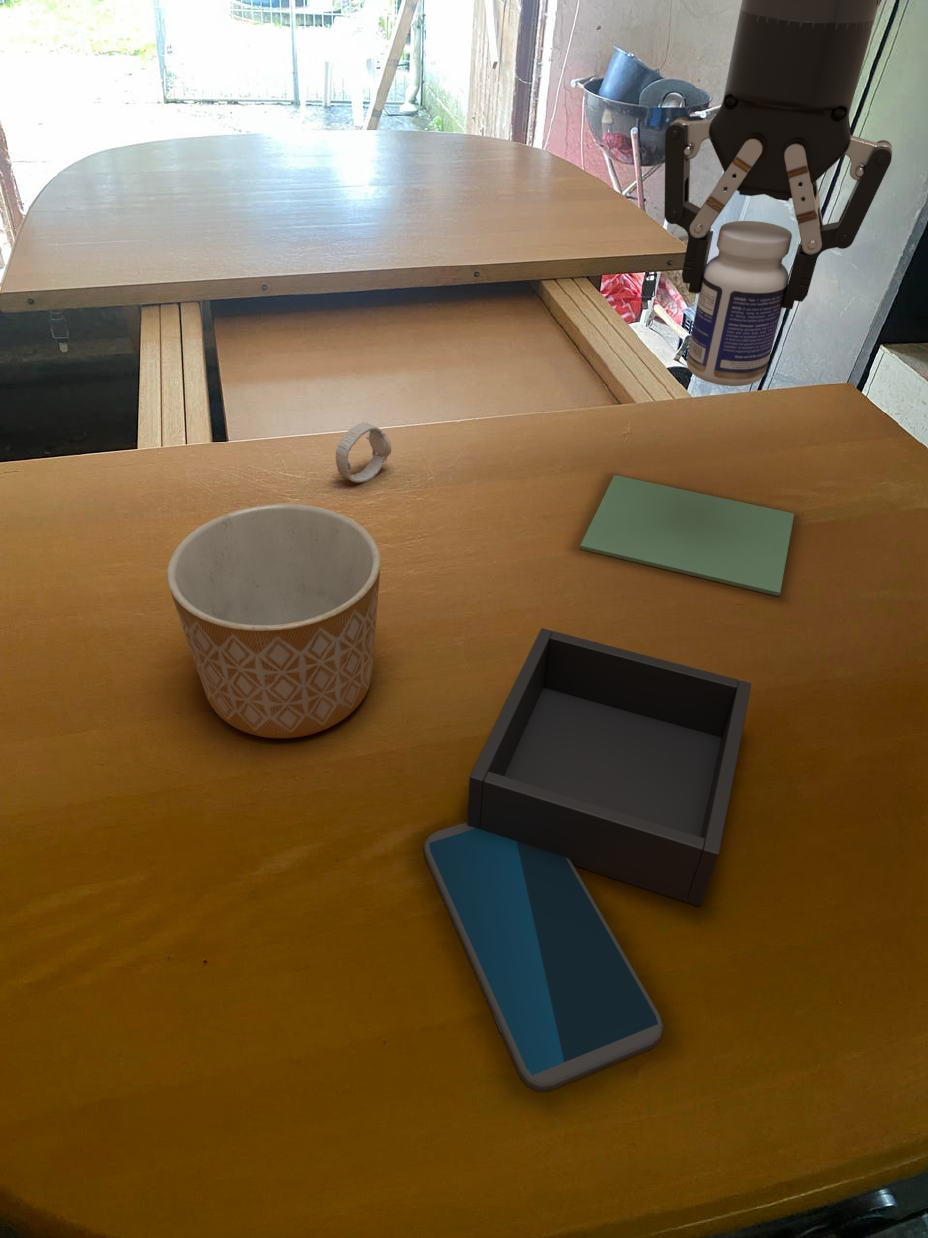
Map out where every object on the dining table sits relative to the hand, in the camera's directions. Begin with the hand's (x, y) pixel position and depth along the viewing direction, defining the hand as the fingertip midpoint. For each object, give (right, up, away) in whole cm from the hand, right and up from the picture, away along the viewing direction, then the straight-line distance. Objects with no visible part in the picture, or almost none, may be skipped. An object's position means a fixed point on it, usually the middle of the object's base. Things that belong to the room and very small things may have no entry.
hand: (741, 296), depth 63 cm
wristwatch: (-28, -10, +19) cm, 36 cm away
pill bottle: (0, -4, +4) cm, 6 cm away
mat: (0, -15, +14) cm, 21 cm away
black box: (-10, -32, -7) cm, 35 cm away
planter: (-31, -27, -1) cm, 41 cm away
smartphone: (-16, -39, -15) cm, 45 cm away
